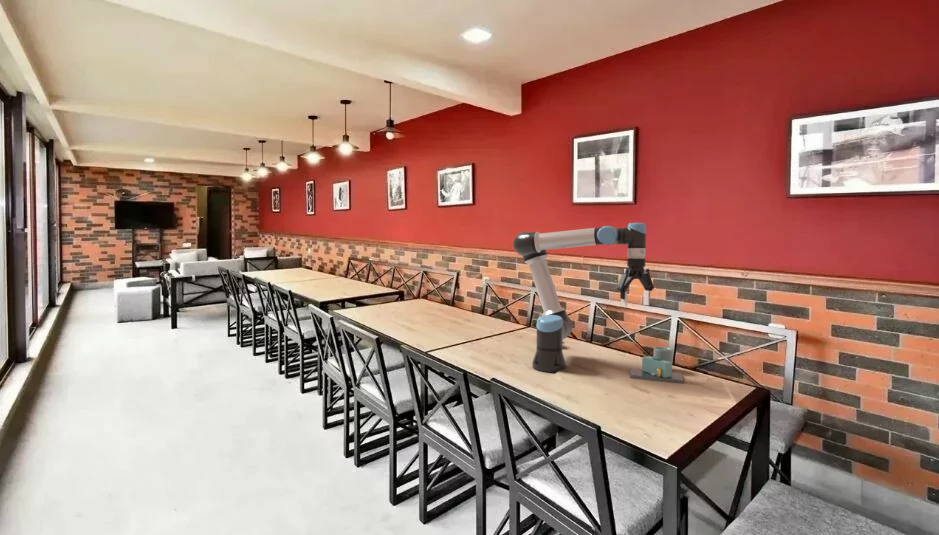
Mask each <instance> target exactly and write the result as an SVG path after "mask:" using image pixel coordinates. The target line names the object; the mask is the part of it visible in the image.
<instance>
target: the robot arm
mask: <svg viewBox="0 0 939 535" xmlns="http://www.w3.org/2000/svg"><path fill="white" fill-rule="evenodd" d="M627 224H628V225H627V227H613V226H611V225H604V226H600V227H591V228H588V227H587V228H583V229H582V228H579V229H573V230H572V229H571V230H563V231H560V230H559V231H552V232H543V233H540V232H539V231H522V232H519V233H517V235H515V237H514V239H513V243H512V246H513V249H514V252H516V254H519V255H520V256H522V258H523V261H524V263H525V264H527V265H528V267H529V270H530V272H531V276H532V278H533V283H534V286H535V288H536V292H537V295H538V299H539V302H540V304H541V307H542V310H543V313H542V314H541V316H539V317H538V318H537V319H536V348H535V349H536V351H535V354H534V357H533V359H532V364H531V365H532V369H534V370H537V371H540V372H545V373H546V372H549V373H557V372H560V371H565V370H566V369H567V363H566V360H565V356H564V353H563V340H564V339H566V338H568V337H569V336H570V334H571V333H572V331H573V326H574V325H573V322H572V319H571V318H570V317H569V316H568V315H567V312H566V309H565V308H564V307H562V305H561V303H560V300H559V297H558V294H557V290H556V288H555V285H554V281H553V278H552V275H551V272H550V269H549V266H548V263H547V258H548V253H547V250H558V249H570V248H579V247H588V246H589V247H590V246H599V245H603V246H604V245H608V246H609V245H627V253H626V254H627V255H626V256H627V260H626V264H627V267H628V268H623V269H622V271H621V272H622V274H621V275H620V279H619V281H618V284H617V286H616V290H617V291H619V292H620V294H619V296H620V306H621V307H624V308H627V307H628V291H627V290H628V288H629V287H630V285H631V284H632V282H633V281H634V280H638V281H639V282H640V283H641V285H642V286H643V289H644V290H643V296H642V297H643V300H642V301H643V303H642V305H644V306H650V298H651V292H652V291H653V290H654V289H655V286H654V283H653V280H652V277H651V274H650V268H645V267H646V259H645V258H646V250H647V249H646V248H647V247H646V246H647V225H646V223H644V222H630V223H627Z"/></svg>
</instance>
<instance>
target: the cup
mask: <svg viewBox="0 0 939 535" xmlns="http://www.w3.org/2000/svg"><path fill="white" fill-rule="evenodd" d="M673 350H674V349H673V348H671V347H667V346H654V347H653V356H658V357H661V359H662V360H665V361H669V362H672V363H673V360H674V359H673V356H674V354H673V353H674V351H673ZM653 356H652V357H653Z"/></svg>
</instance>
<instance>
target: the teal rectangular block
mask: <svg viewBox="0 0 939 535" xmlns="http://www.w3.org/2000/svg"><path fill="white" fill-rule="evenodd" d="M641 358H642V360H641V361H642V362H641V363H642V364H641V369H642V371H645V372H648V373H651V374H654V375H657V368H660V369H662V373H661V377H664V378H667V377H672V372H673V361H672V362H669V361H665V360H662V359H661V357H658V356H651V355H646V356H642V357H641Z"/></svg>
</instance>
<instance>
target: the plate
mask: <svg viewBox="0 0 939 535" xmlns="http://www.w3.org/2000/svg"><path fill="white" fill-rule="evenodd" d="M661 373H662V369H660V368H657V375H654V374H651V373H648V372H645V371H642V368H634V367H631V368H630V374H629V375H630V376H629V378H630V379H638V380H646V381H647V380H649V381H650V380H651V381H657V382H668V383H677V384H684V378H683V375H682V373H681V372H675V371H672V377H667V378H664V377H661Z"/></svg>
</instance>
